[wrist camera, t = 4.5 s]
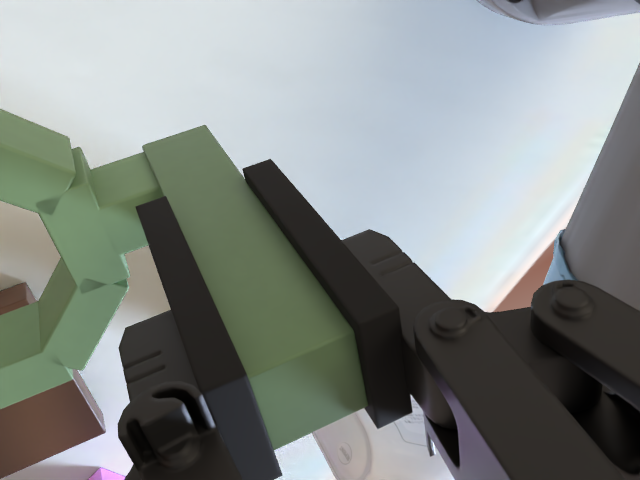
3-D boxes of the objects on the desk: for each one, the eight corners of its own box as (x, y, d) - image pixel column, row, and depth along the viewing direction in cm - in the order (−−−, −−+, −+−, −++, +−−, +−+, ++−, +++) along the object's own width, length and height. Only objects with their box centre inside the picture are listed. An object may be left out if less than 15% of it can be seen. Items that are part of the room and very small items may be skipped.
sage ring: (-119, 400, 19) (-226, 819, 11) (-333, 160, 14) (-835, 583, 6) (246, 258, 22) (388, 502, 13) (173, 17, 17) (324, 163, 8)
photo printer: (262, 362, 38) (348, 531, 29) (289, 306, 37) (389, 463, 27) (388, 375, 44) (495, 521, 34) (416, 327, 42) (536, 463, 33)
